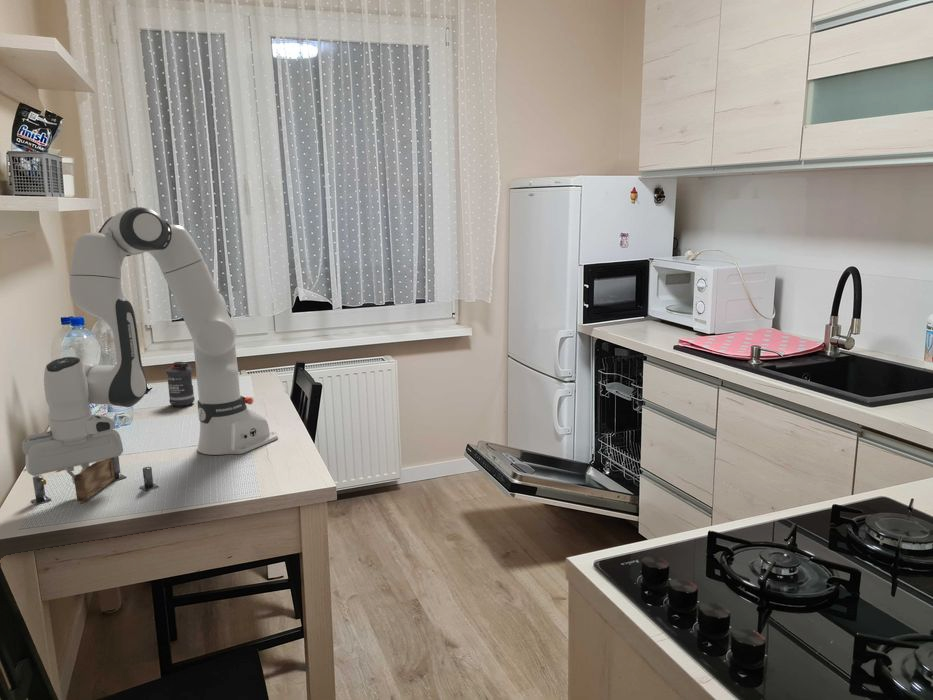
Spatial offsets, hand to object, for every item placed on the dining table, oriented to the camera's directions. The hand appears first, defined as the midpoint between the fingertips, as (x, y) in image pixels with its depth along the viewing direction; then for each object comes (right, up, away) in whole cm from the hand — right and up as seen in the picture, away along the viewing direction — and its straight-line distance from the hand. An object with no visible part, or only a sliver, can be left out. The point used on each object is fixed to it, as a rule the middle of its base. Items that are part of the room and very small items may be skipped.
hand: (79, 482), depth 166 cm
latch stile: (-7, -4, -3) cm, 9 cm away
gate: (+3, -2, +2) cm, 4 cm away
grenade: (-6, +12, +75) cm, 76 cm away
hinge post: (+3, -1, +10) cm, 11 cm away
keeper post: (+15, -2, +4) cm, 15 cm away
